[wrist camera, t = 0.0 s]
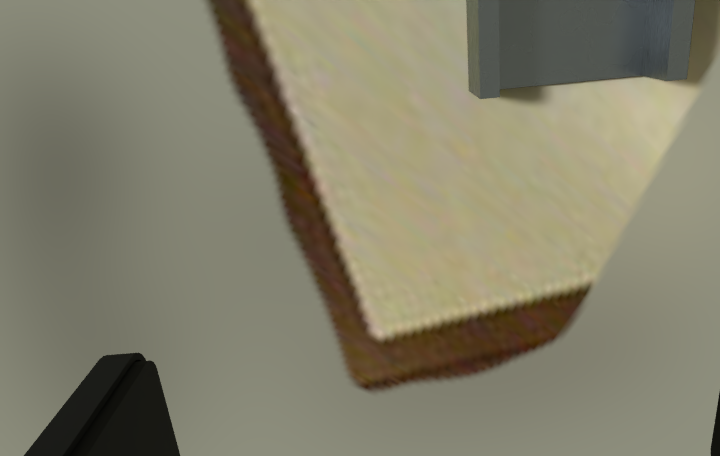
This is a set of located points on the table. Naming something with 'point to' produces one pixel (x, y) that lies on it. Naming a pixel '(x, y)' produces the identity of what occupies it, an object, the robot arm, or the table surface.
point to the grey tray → (575, 41)
